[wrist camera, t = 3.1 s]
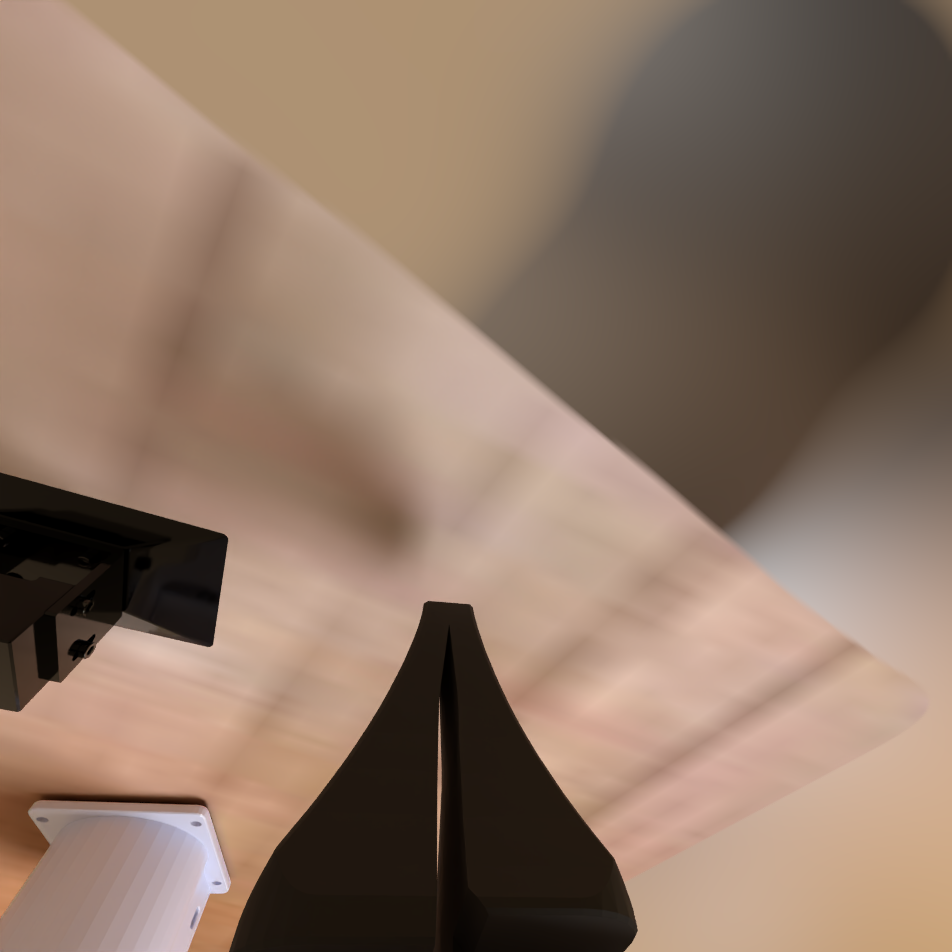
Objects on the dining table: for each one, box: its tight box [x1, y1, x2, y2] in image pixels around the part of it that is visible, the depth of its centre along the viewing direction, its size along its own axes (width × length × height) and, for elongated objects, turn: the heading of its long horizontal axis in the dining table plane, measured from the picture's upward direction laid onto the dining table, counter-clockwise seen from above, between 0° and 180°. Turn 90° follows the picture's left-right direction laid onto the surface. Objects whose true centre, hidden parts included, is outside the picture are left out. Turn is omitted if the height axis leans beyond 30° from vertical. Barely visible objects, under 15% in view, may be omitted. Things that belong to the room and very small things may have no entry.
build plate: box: [0, 473, 228, 712], centre depth 12 cm, size 12×7×5 cm, turn 67°
